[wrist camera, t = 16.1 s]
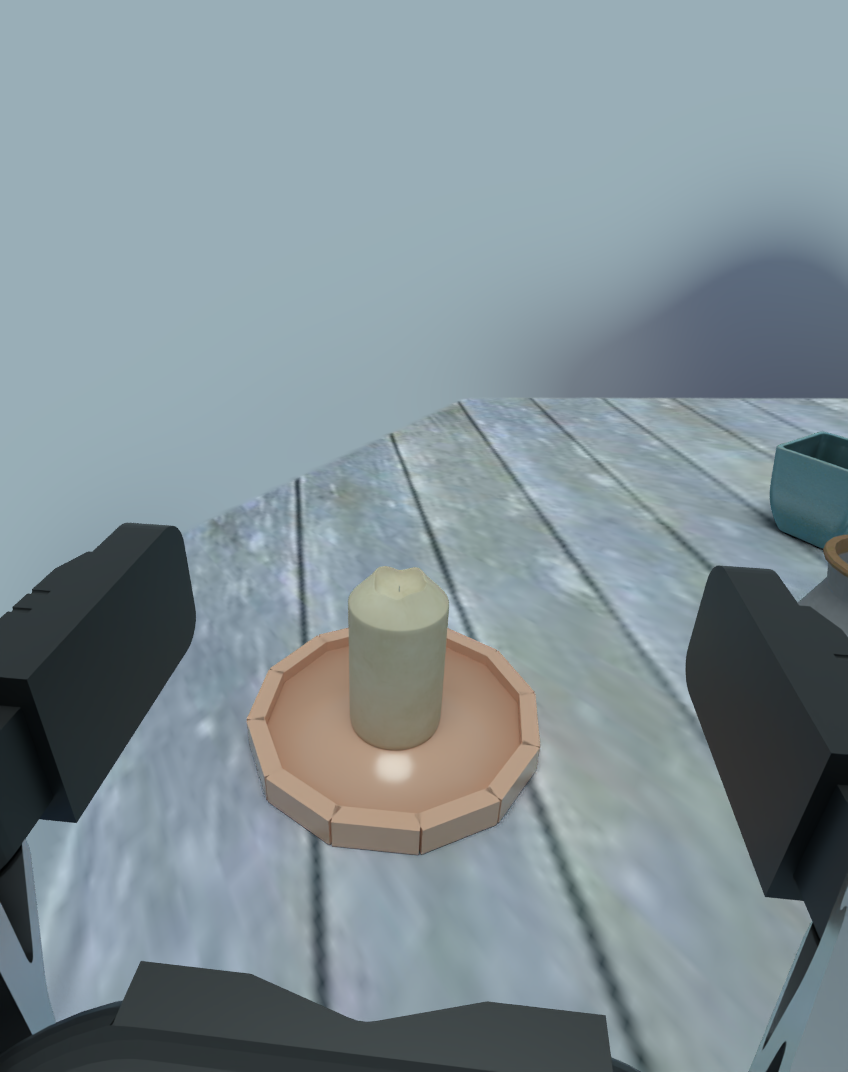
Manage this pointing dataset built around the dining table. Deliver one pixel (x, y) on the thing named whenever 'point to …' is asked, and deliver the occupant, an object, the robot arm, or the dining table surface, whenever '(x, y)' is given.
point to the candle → (396, 657)
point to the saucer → (393, 751)
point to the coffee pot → (833, 585)
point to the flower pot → (811, 487)
